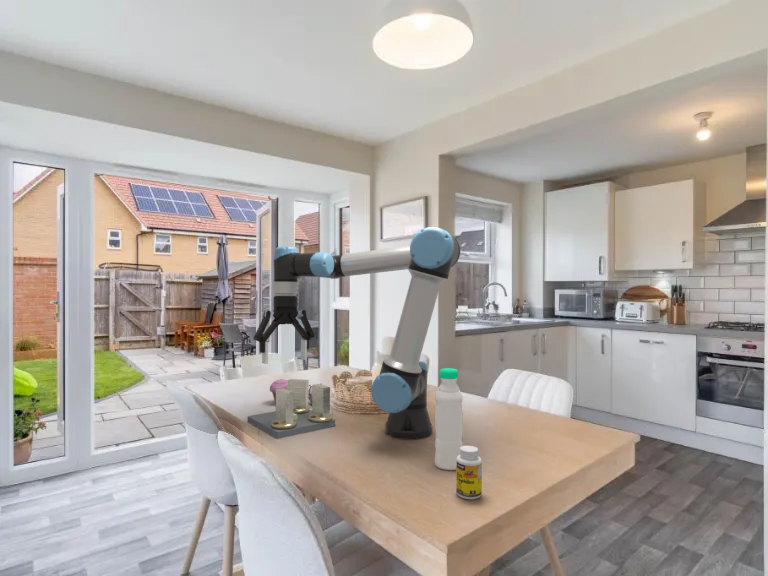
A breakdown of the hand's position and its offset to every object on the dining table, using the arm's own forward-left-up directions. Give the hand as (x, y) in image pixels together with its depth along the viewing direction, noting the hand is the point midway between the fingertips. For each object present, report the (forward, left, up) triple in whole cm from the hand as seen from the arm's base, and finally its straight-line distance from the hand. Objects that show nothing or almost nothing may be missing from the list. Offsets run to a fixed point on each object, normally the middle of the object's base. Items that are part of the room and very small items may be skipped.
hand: (284, 361), depth 142 cm
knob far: (+13, -12, -20) cm, 27 cm away
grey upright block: (-1, -13, -20) cm, 24 cm away
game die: (+25, -27, -23) cm, 43 cm away
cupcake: (+34, -16, -23) cm, 44 cm away
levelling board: (+7, -6, -23) cm, 24 cm away
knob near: (0, 0, -20) cm, 20 cm away
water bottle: (-52, -20, -23) cm, 60 cm away
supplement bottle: (-66, -11, -23) cm, 71 cm away
